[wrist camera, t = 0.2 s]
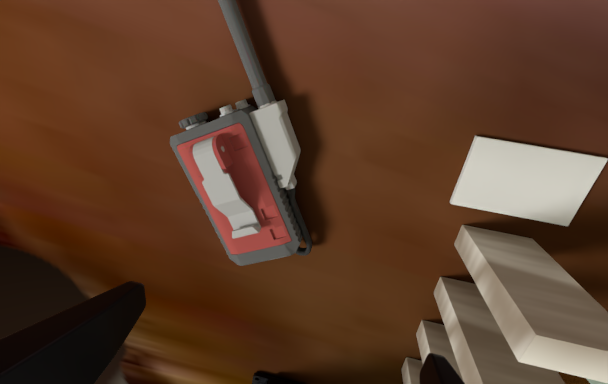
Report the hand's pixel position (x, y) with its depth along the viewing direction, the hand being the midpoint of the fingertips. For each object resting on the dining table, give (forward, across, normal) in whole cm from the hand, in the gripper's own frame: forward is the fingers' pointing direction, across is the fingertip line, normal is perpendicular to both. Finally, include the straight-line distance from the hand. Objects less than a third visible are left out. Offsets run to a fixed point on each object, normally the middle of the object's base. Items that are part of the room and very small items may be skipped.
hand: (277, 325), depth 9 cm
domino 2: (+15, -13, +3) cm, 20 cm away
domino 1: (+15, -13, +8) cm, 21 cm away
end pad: (+14, -13, -2) cm, 20 cm away
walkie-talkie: (+15, +7, -1) cm, 17 cm away
